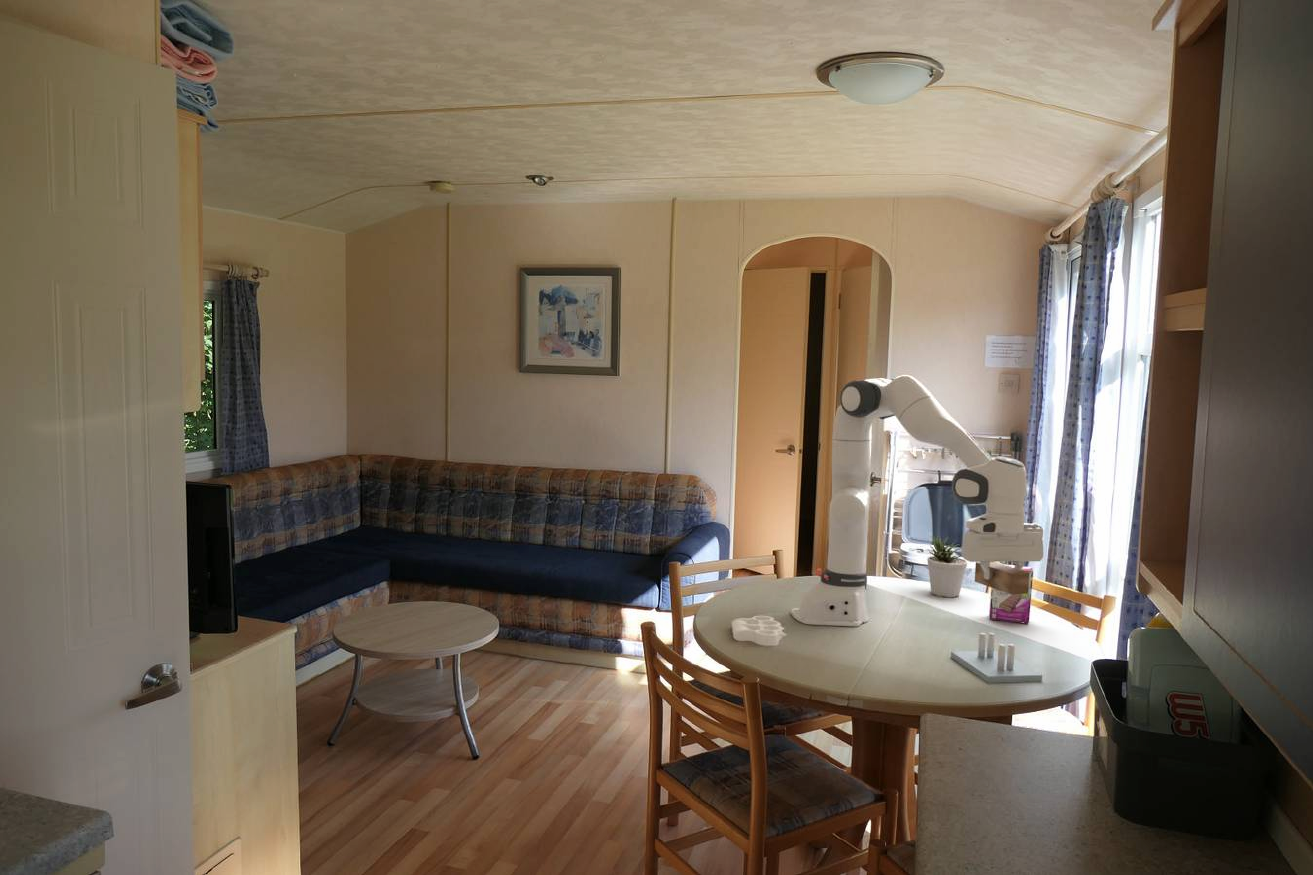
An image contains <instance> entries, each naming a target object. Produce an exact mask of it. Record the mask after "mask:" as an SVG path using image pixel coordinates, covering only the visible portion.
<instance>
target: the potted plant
mask: <svg viewBox="0 0 1313 875" xmlns="http://www.w3.org/2000/svg"><path fill="white" fill-rule="evenodd" d="M937 534H938V535H937V536H938V538H937V536H935V535H932V536H931V539H932V542H933V546H932V545H929V547H930V548H931V549H932V551H931V550H929V549H927V551H928V552H929V553H930V554H931V556H928V557H927V566H928V574H929V583H930V592H931V593H932V594H933V595H935V594H936V595H935V596H937V595H939V596H938V597H942V596H945V597H944V598H955V597H956V596H957V597H959V596H960V593H961V589H962V585H963V581H964V577H965V573H966V569H967V566H968V561H967V560H965V559H964V558H960V557H961V556H960V555H958V556H956V555H954V556H952V555H953V554H954V553H957V551H958V550H962V547H960V548H957V549H955V550H953V548H955V547H957V546H960V545H961V544H956V543H955V542H956V541H954V542H953V543H950V544H947V545H946V546H945V544H946V542H947V540H948V538H949V537H945V539H943V540H942V539H941V538H940V537H941V535H940V532H937ZM941 540H942V541H941ZM955 544H956V545H955Z"/></svg>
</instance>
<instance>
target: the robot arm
mask: <svg viewBox="0 0 1313 875" xmlns="http://www.w3.org/2000/svg"><path fill="white" fill-rule="evenodd" d="M839 403H840V405H838V407H837V409H836V412H835V416H834V420H833V421H834V422H833V427H832V428H833V429H832V442H831V443H832V445H831V447H832V448H831V449H832V450H831V500H830V503H829V510H828V511H829V514H828V552H827V568H825V569H824V570H822V569H821V568H816V570H815V574H816V575H817V576H818V577H820V581H818V582H817V583H816V584H815V585H813V586H811V587H810V588H809V589H807V590H806V591H804V592H803V593H802V594H801V597H800V600H799V604H798V605H799V606H798V607H794V608H792V609H791V612H790V613H791V614H790V615H791V616H792V617H793V618H794V619H795V620H796V621H798V622H800V623H802V624H805V625H811V626H812V625H813V626H814V625H816V626H838V627H842V626H843V627H860V626H861V624H864V623H866V622H868V621H869V620H870V618H869V614H868V610H867V601H866V600H867V598H866V591H867V584H868V572H867V570H866V569H867V553H868V552H867V551H868V533H869V514H870V513H869V512H870V495H871V494H870V490H871V459H872V458H871V456H872V427H873V424H874V423H875V421H876V420H877V419H880V420H885V419H888V418H891V417H894V416H895V418H896V419H897V420H898V422H899V423H900V424H901V426H902V427H903V429H904V430H905V431H906V432H907V433H908V434H909V435H910V436H911V437H913V439H915V440H916V441H919V442H921V443H925V444H929V445H934V446H938V447H940V448H944V449H946V450H948V451H950V452H951V453H952V454H954V455H956V457H957V458H958V459H959V460H960V461H961V462H962V463H963V464H964V465H965V467H966V468H963V469H959V470H958V471H957V472H956V473H955V474H954V476H953V477H952V481H951V492H952V494H953V497H954V498H955V500H956V501H958V503H960V504H962V505H966V506H985V508H986V509H985V513H984V514H981V515H979V516H976V517H973V518H970V519H967V520H966V522H965V527H966V529H967V530H966V531H965V532H964V534H963V538H962V543H961V548H962V549H961V556H962V559H964V560H966V561H967V562H970V563H974V562H975V563H976V562H980V565H981V567H982V569H983V571H984V578H985V579H988V580H989V579H993V572H990V571H989V568H988V566H990V562H996V563H1001V562H1002V563H1003V562H1004V563H1005V562H1006V563H1007V562H1008V563H1009V562H1011V563H1012V562H1013V564H1014V565H1015V567H1014V568H1015V569H1018V570H1021V569H1022V568H1023V566H1024V565H1025V562H1041V561H1042V560H1043V558H1044V540H1043V537H1044V529H1043V527H1042V526H1041V525H1039V524H1038V523H1025V514H1026V512H1025V511H1026V510H1025V507H1024V503H1025V499H1026V496H1027V471H1026V470H1027V469H1026V467H1025V465H1024V463H1023V462H1021V460H1019V459H1015V458H1013V457H1007V456H994V457H992V456H991V455H990V454H989V453H988V452H987V451H986V450H985V448H984V447H982V446H981V445H980V443H979V442H978V441H977V440H976V439H975V438H974V437H973V436H972V434H970V433H969V432H968V431H967V430H966V429H965V428H964V427H963V426H962V425H961V424H959V423H958V422H957V421H956V419H954V418H953V417H952V416H951V415H950V414H949V413H948V412H947V411H946V410H945V408H944V407H942V405H941V404H940V403H939V402H938V400H937V399H936V398H935V397H934V396H933V395H932V392H930V391H929V390H928V389H927V388H926V387H925V386H924V385H923V384H922V383H921V382H920V381H918V380H917V379H916V378H915V377H914V376H912V375H908V374H903V375H900V376H897V377H895V378H893V379H892V378H878V377H877V378H869V379H855V380H852V381H849V382H848V383H846V384H845V385H844V386H843V387H842V389H841V391H840V395H839ZM1024 567H1025V566H1024ZM863 622H864V623H863Z"/></svg>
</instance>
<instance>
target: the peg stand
mask: <svg viewBox="0 0 1313 875" xmlns="http://www.w3.org/2000/svg"><path fill="white" fill-rule="evenodd" d="M995 636H996V633H994V632H988V634H987V633H986V632H985V633H984V632H979V634H978V648H977V649H978V650H972V651H971V650H966V651H965V650H964V651H962V650H961V651H960V650H959V651H951V652H950V658H951V659H953V660H955V661H956V663H959V664H960V665H962V667H964V668H965V669H968V670H969V671H970V672H972V673H973V674H974V675H976V676H977V677H979V678H980V679H982V680H984V681H985V682H987V683H991V684H992V683H993V684H994V683H1021V682H1025V681H1030V682H1043V674H1041V673H1039V672H1038V671H1037V670H1034V669H1033V668H1031V667H1030V666H1028V665H1027V664H1025V663H1023V662H1022V661H1020V660H1018V659H1016V658H1015V649H1016V646H1015V644H1013V643H1008V644H1007V646H1006V644H1003V643H1000V644H998V650H995V640H996V638H995ZM986 641H987V643H986ZM986 644H987V648H986ZM1006 648H1007V652H1006Z"/></svg>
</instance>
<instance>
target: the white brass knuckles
mask: <svg viewBox="0 0 1313 875" xmlns="http://www.w3.org/2000/svg"><path fill="white" fill-rule="evenodd" d="M731 628H732V630H731V631H732V635H733V637H732V638H733V639H734V640H736V641H738V642H752V643H756V644H757V645H760V646H764V647H775V646H778V645H779V641H781V640H782V638H783V637H784V638H785V637H786V636H788V634H787V633H784V632H783V630H786V629H785V627H783V626H782V624H781V622H779V621H777V620H775V619H774V617H772V616H768V615H755V616H753V617H747V618H745V617H741V618H735V619H734V620H732V621H731Z"/></svg>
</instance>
